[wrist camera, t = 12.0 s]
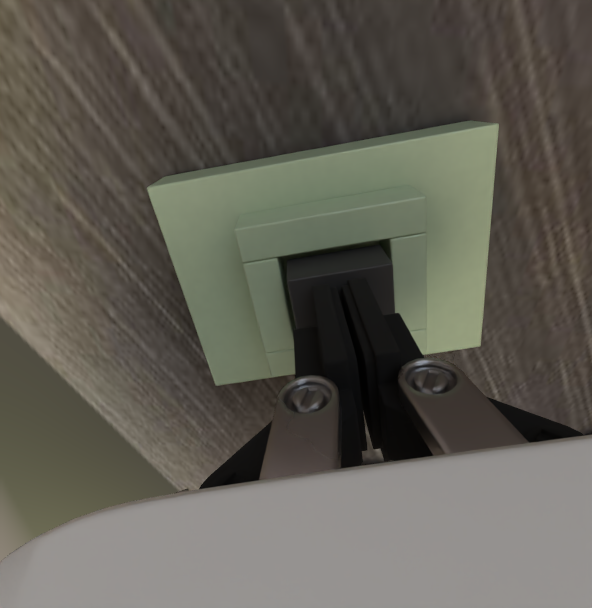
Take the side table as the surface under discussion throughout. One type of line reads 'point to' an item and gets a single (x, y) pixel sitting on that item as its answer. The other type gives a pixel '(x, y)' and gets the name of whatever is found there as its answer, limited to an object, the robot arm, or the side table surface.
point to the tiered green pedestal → (333, 238)
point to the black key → (339, 279)
